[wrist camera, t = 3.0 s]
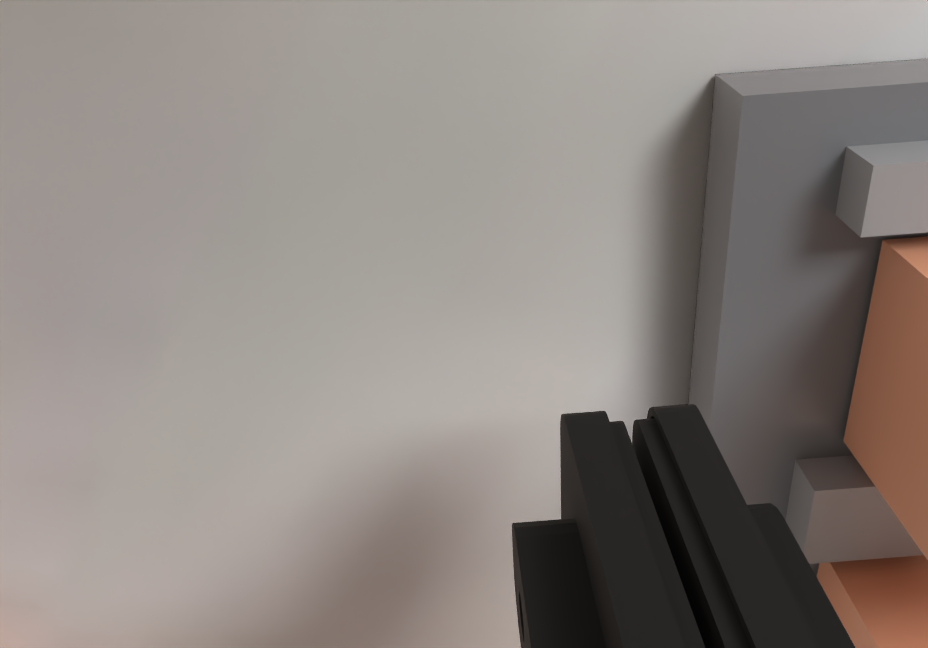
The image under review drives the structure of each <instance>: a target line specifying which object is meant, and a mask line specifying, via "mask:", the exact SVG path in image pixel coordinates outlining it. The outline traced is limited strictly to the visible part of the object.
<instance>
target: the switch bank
mask: <svg viewBox="0 0 928 648" xmlns="http://www.w3.org/2000/svg"><path fill="white" fill-rule="evenodd" d="M927 236H928V59H917V60H904V61H890V62H877V63H863V64H850V65H836V66H823V67H809V68H795V69H782V70H768V71H755V72H741V73H728V74H715V85H714V97H713V110H712V122H711V134H710V146H709V159H708V171H707V183H706V195H705V207H704V220H703V232H702V244H701V256H700V269H699V281H698V293H697V305H696V317H695V330H694V342H693V354H692V366H691V378H690V391H689V403H688V404H694V405H696V406H697V408H698V409H699V411H700V413H701V415H702V417H703V419H704V421H705V423H706V425H707V427H708V429H709V431H710V433H711V434H712V436H713V438H714V440H715V442H716V444H717V446H718V448H719V450H720V452H721V454H722V456H723V458H724V460H725V462H726V464H727V466H728V468H729V470H730V472H731V474H732V476H733V478H734V480H735V482H736V484H737V486H738V488H739V490H740V492H741V494H742V496H743V498H744V500H745V502H746V504H747V505H751V504H764V503H771V504H773V505H774V506H776V507H777V508H778V510H779V511H780V513H781V514H782V515H783V517H784V519H785V521H786V523H787V524H788V526H789V528H790V530H791V532H792V533H793V535H794V537H795V539H796V541H797V542H798V544H799V546H800V548H801V550H802V552H803V553H804V555H805V557H806V559H807V561H808V562H809V564H810V566H811V568H812V570H813V571H814V573H815V575H816V577H817V573H818V568H819V563H828V562H841V561H854V560H866V559H879V558H892V557H905V556H918V555H924V554H923V553H922V552H921V550H920V549H919V547H918V546H917V545H916V543H915V542H914V540H913V539H912V537H911V536H910V535H909V533H908V532H907V530H906V529H905V528H904V526H903V525H902V523H901V522H900V521H899V519H898V518H897V516H896V515H895V513H894V512H893V511H892V509H891V508H890V506H889V505H888V504H887V502H886V501H885V499H884V498H883V496H882V495H881V494H880V492H879V491H878V489H877V488H876V487H875V485H874V484H873V482H872V481H871V480H870V478H869V477H868V475H867V474H866V472H865V471H864V470H863V468H862V467H861V465H860V464H859V463H858V461H857V460H856V458H855V457H854V455H853V454H852V453H851V451H850V450H849V448H848V447H847V446H846V444H845V443H844V441H843V440H844V435H845V430H846V424H847V419H848V414H849V409H850V404H851V399H852V394H853V389H854V383H855V378H856V373H857V368H858V363H859V358H860V353H861V348H862V343H863V337H864V332H865V327H866V322H867V317H868V312H869V307H870V302H871V297H872V291H873V286H874V281H875V276H876V271H877V266H878V261H879V256H880V251H881V245H882V240H887V239H900V238H914V237H927Z"/></svg>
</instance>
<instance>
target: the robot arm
mask: <svg viewBox="0 0 928 648" xmlns="http://www.w3.org/2000/svg"><path fill="white" fill-rule="evenodd" d="M560 436H561V519H560V520H547V521H534V522H522V523H513V524H512V541H513V562H514V579H515V592H516V604H517V614H518V624H519V633H520V641H521V648H855V646H854V644H853V642H852V640H851V639H850V637H849V635H848V633H847V631H846V629H845V628H844V626H843V624H842V622H841V620H840V619H839V617H838V615H837V613H836V611H835V610H834V608H833V606H832V604H831V602H830V600H829V599H828V597H827V595H826V593H825V591H824V590H823V588H822V586H821V584H820V582H819V581H818V579H817V577H816V575H815V573H814V571H813V570H812V568H811V566H810V564H809V562H808V561H807V559H806V557H805V555H804V553H803V552H802V550H801V548H800V546H799V544H798V542H797V541H796V539H795V537H794V535H793V533H792V532H791V530H790V528H789V526H788V524H787V523H786V521H785V519H784V517H783V515H782V514H781V513H780V511H779V510H778V508H777V507H776V506H774V505H773V504H771V503H764V504H751V505H747V504H746V502H745V500H744V498H743V496H742V494H741V492H740V490H739V488H738V486H737V484H736V482H735V480H734V478H733V476H732V474H731V472H730V470H729V468H728V466H727V464H726V462H725V460H724V458H723V456H722V454H721V452H720V450H719V448H718V446H717V444H716V442H715V440H714V438H713V436H712V434H711V433H710V431H709V429H708V427H707V425H706V423H705V421H704V419H703V417H702V415H701V413H700V411H699V409H698V408H697V406H696V405H694V404H687V405H674V406H661V407H651V408H650V409H649V411H648V416H647V419H641V420H635V421H634V424H633V438H632V443H631V440H630V438H629V435H628V432H627V429H626V426H625V424H624V422H623V421H616V422H609V419H608V416H607V414H606V412H605V411H597V412H584V413H571V414H562V415H561V424H560Z"/></svg>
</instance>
